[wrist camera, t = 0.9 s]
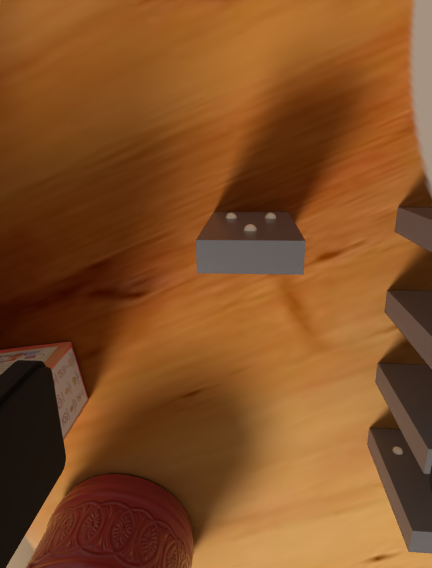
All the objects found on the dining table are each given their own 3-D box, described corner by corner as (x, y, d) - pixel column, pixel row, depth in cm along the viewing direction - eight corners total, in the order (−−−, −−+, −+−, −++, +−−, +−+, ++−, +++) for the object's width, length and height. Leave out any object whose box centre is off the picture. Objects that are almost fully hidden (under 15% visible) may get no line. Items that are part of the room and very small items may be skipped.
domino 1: (213, 207, 27) (195, 233, 18) (288, 207, 27) (305, 234, 18) (214, 235, 28) (196, 272, 19) (287, 235, 27) (303, 274, 19)
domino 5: (369, 424, 31) (413, 527, 23) (436, 427, 31) (506, 533, 22) (367, 444, 32) (408, 551, 23) (432, 447, 31) (499, 558, 23)
